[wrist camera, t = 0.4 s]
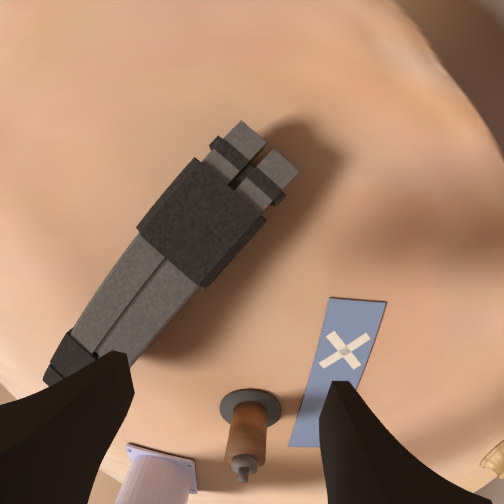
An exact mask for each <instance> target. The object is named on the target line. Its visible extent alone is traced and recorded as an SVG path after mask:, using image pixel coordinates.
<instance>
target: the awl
mask: <svg viewBox="0 0 504 504" xmlns="http://www.w3.org/2000/svg"><path fill="white" fill-rule="evenodd" d="M266 434H267V409H266V408H265V407H264V406H263V405H262V404H260V403H257V402H253V401H244V402H240V403H238V404H237V405H235V407H234V408H233V413H232V419H231V425H230V431H229V437H228V443H227V448H226V454H225V461H226V462H227V463H228V464H229V465H231V470H232V471H233V472H235V473H238V478H237V480H238V481H239V482H247V481H248V475H249V474H253V473H255V472H256V471H257V468H259V467H261V466H262V465H264V463H265V453H266Z"/></svg>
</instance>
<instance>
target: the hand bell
mask: <svg viewBox="0 0 504 504" xmlns="http://www.w3.org/2000/svg"><path fill="white" fill-rule="evenodd" d="M480 466H481V467H483V468H489V469H491V470H493V471H494V472H495V473H496V474H497V476H498V477H499V478H500V479H502V478H504V440H503V441H502V442H501V443H500V444H498V445H497V446H496V447H495V448H494V449H493V450H491V451H490V452H489V453H488V454H487V455H486V456H485V458H484V459H483V460H482V462H481V464H480Z"/></svg>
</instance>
